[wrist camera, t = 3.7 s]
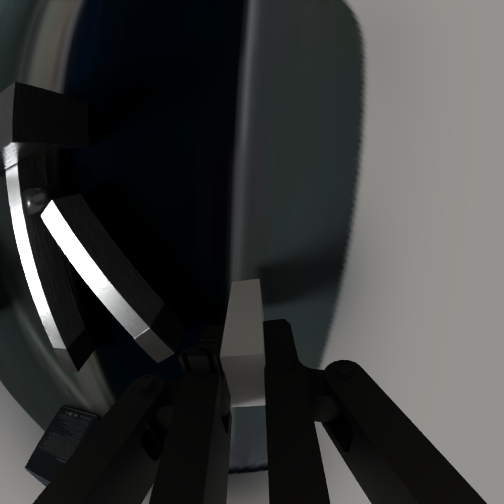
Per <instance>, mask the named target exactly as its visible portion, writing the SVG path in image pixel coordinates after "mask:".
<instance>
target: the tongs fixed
mask: <svg viewBox="0 0 504 504" xmlns="http://www.w3.org/2000/svg"><path fill="white" fill-rule="evenodd" d="M6 179H7V189H8V197H9V204H10V211H11V217H12V222H13V227H14V232H15V237H16V241H17V246H18V250H19V254H20V258H21V261H22V265H23V268H24V272H25V275H26V278H27V282H28V285H29V288H30V291H31V294H32V297H33V299H34V302H35V305H36V307H37V310H38V313H39V315H40V318H41V320H42V323H43V325H44V327H45V330H46V332H47V334H48V336H49V339H50V341H51V343H52V345H53V347H54V348H53V349H54V351H55V353H56V355H57V357H58V359H59V361H60V363H61V365H62V367H63V369H64V370H68V371H74V372H78V371H79V370H80V369H81V367H82V366H83V364H84V363H85V362H86V360H87V359H88V358H89V356H90V355H91V354H92V352H93V351H94V350H95V347H94V345H93V342H92V340H91V338H90V335H89V333H88V330H87V328H85V325H84V323H83V320H82V317H81V315H80V312H79V309H78V306H77V304H76V301H75V298H74V295H73V292H72V289H71V286H70V282H69V279H68V276H67V272H66V269H65V265H64V262H63V258H62V254H61V250H60V246H59V244H58V243H57V241H56V240H55V238H54V237H53V235H52V234H51V232H50V230H49V229H48V227H47V226H46V224H45V222H44V221H43V219H42V217H41V215H42V213H43V212H44V210H45V209H46V207H47V206H48V205H49V203H50V202H51V200H53V199H58V198H62V197H64V190H63V188H62V186H61V185H59V184H52V185H48V178H47V168H46V156H29V157H27V158H25V159H23V160H21V161H19V162H17V163H16V164H14V165H12V166H10V167H8V168H7V169H6Z"/></svg>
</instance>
